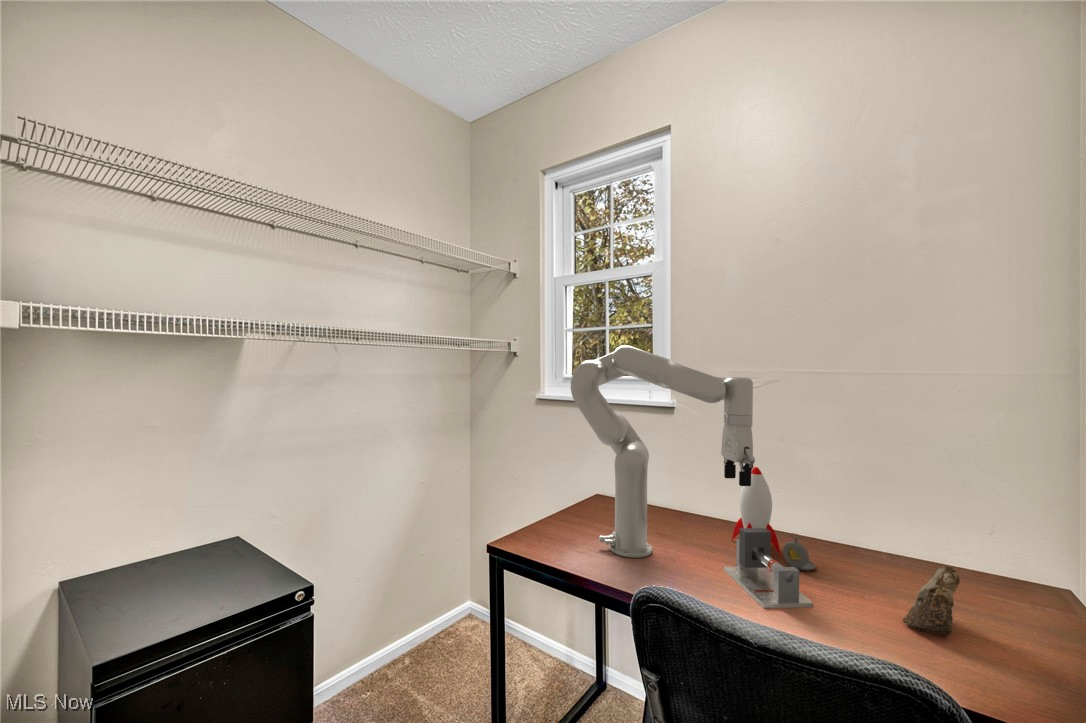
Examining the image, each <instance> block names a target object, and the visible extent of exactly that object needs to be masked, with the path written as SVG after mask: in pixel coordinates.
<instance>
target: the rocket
mask: <svg viewBox="0 0 1086 723" xmlns="http://www.w3.org/2000/svg"><path fill="white" fill-rule="evenodd" d="M766 480H767V479H765V477H764V474H763V473H762V472H761V470H760V468H759V467H757V466H753V468H752V472H751V486H741V490H740V493H739V494H740V495H739V510H740V511H739V512H740V516H741V517H740V518H739V519H738V520H737V521H736V523H735V526H734V529H733V532H732V535H731V536H732V537H731V541H733V540H734V539H735V538H737V536H739V533H740V528H765V529H767V530H769V531H770V532H771V545H772V546H773V547H774V548H775V550H776V551H777V553H778V554H779V556H780V557H781V556H782V554H781V553H782V552H781V548H780V545H779V541H778V537H777V534H776V532H775V530H774V528H773V527H772V525H771V524H770V523H771V518H772V511H773V510H772V509H773V499H772V494H771V491H770V490H771V489H770V487H769V484H768V482H767V481H766Z"/></svg>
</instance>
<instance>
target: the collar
mask: <svg viewBox="0 0 1086 723" xmlns="http://www.w3.org/2000/svg"><path fill="white" fill-rule="evenodd" d="M738 536H739V538H738V539H739V563H740V564H741V565H742V566H743V567H744V568H768V567H767V566H765V565H764V564H763V563H762V562H760V561H759V560H758V559H756V558H755V557H754V556H753V555H752V548H758V549H760V550H761V551H763V552H764V553H765V554H767V555H768V556H769V557H771V558H772V543H771V532H770V531H769V530H767V529H765V528H740V533H739V534H738Z"/></svg>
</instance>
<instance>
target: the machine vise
mask: <svg viewBox="0 0 1086 723" xmlns="http://www.w3.org/2000/svg"><path fill="white" fill-rule="evenodd" d="M752 555H753V556H754V557H755V558H756V559H758V560H759V561H760V562H762V563H763V564H764V565H765V566H767V567H768V568H744V567H743V566H742V565H741V564H740V563H739V538H737V539H736V558H735V559H736V560H735V561H736V562H735V563H736V565H735V566H724V567H723V571H724V572H725V573H726V574H727V575H728V576H729V577H730V578H731V579H732V580H734V582H736V584H738V586H740V587H741V588H742V589H743V590H744V591H745V592H746V593H747V594H748V595H749V596H750V597H751V598H752V599H753V600H754V601H755V602H756V603H757V604H758V605H759V606H761V607H762V608H763V609H788V608H789V609H790V608H791V609H793V608H794V609H795V608H814V602H813V601H812V600H811V599H809V598H808V597H806V595H804V594H803V593H801V591H800V569H797V568H795V567H792V566H783V565H782V564H781V563H780V562H779V561H777V560H775V559H774V558H772V556H771V557H769V556H768V555H767V554H765V553H764V552H763V551H761V550H760V549H758V548H752Z"/></svg>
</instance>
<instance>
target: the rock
mask: <svg viewBox="0 0 1086 723" xmlns="http://www.w3.org/2000/svg"><path fill="white" fill-rule="evenodd" d="M960 583H961V578H960V575H958V573H957V570H956V569H955V568H954V567H953V566H949V565H943V566H941V567H939V568H938V569H937V570H936V572H935V574H934V576H933V577H932V578H930V580H929V581H928V582H927V583H926V584H923V586H921V588H920V590H919V591H918V593H917V596H916V599H915V601H914V603H913V605H912V606H911V607H910V609H908V612H907V614H906V615H905V616H904V618H902V622H903V623H905V624H907V626H909V627H911V628H914V629H917V630H918V631H921V632H926V633H932V634H941V635H944V636H948V637H949V636H950V635H951V634H952V633H953V628H954V623H953V620H954V619H953V611H952V610H953V607H955V606H954V603H955V602H954V594H955V593H956V591H957V589H958V586H959V585H960Z"/></svg>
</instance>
